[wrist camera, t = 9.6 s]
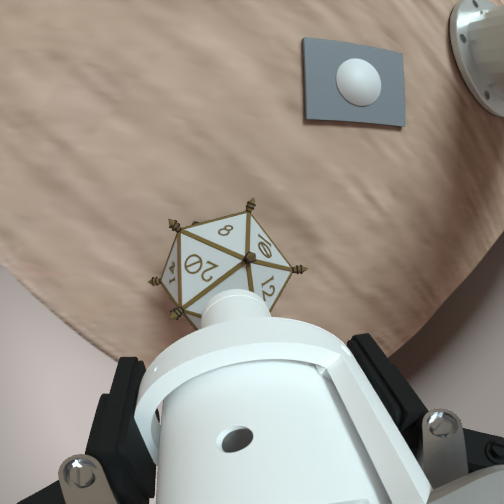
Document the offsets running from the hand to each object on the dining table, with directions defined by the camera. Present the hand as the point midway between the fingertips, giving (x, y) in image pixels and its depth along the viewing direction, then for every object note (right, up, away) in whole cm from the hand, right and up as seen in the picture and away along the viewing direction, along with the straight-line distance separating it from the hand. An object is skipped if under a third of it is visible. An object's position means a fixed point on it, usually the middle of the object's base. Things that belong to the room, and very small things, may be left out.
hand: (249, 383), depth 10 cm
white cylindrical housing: (-1, +2, +4) cm, 4 cm away
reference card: (+8, +17, +10) cm, 21 cm away
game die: (-2, +5, +13) cm, 14 cm away
